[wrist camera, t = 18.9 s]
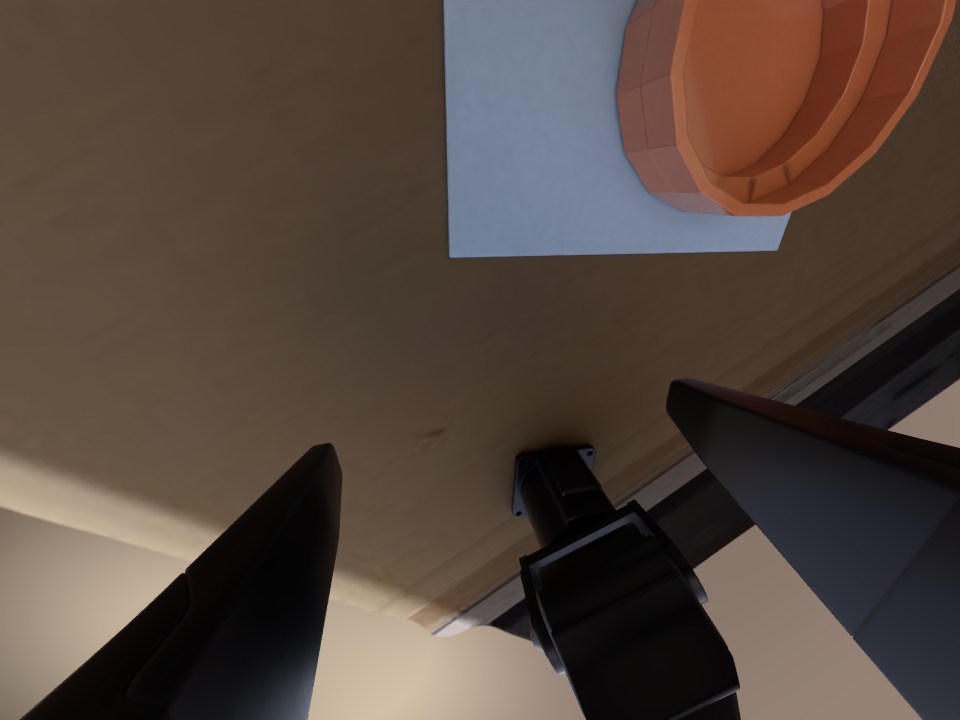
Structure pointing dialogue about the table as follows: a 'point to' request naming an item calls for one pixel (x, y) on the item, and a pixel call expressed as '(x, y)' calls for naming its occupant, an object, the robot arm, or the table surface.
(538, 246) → the blue mat
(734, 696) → the robot arm
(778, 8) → the bowl
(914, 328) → the table surface
